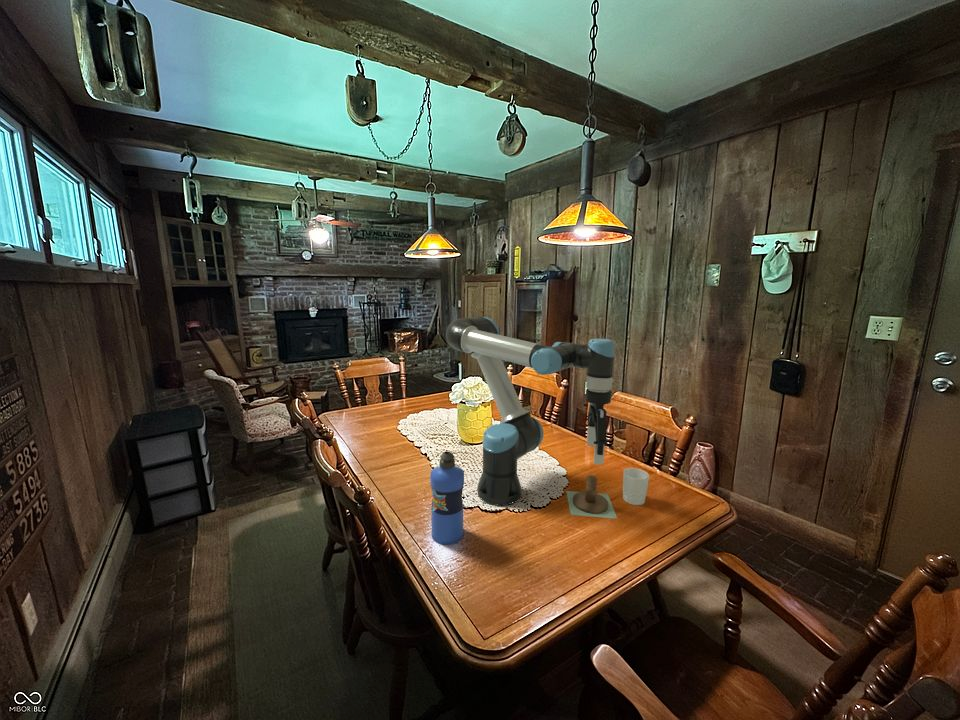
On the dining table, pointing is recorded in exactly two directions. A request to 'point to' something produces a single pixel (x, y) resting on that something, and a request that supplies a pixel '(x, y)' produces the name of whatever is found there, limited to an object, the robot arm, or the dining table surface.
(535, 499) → the dining table surface
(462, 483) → the water bottle
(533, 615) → the dining table surface
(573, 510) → the mat
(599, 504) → the lid
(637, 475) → the white cup
